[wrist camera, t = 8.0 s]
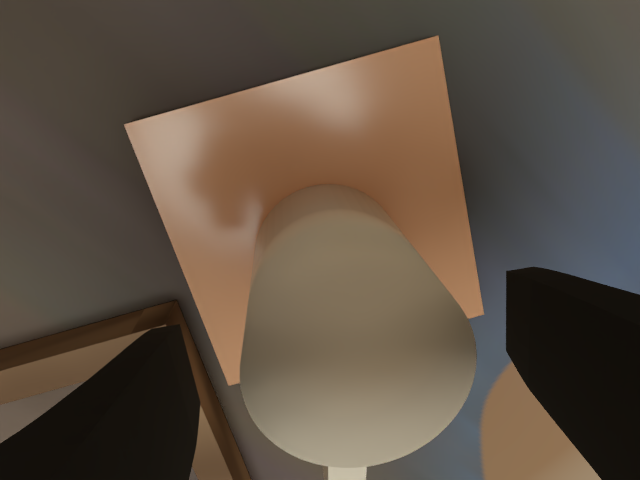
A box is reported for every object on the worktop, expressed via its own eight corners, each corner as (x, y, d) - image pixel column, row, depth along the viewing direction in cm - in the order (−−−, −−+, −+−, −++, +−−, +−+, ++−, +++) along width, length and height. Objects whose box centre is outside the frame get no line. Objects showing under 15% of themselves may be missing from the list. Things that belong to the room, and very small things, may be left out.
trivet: (129, 122, 15) (123, 124, 15) (432, 37, 15) (438, 35, 14) (230, 376, 18) (228, 385, 18) (477, 307, 18) (483, 314, 18)
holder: (-67, 368, 17) (-104, 399, 16) (176, 299, 17) (165, 324, 16) (69, 576, 21) (52, 619, 19) (268, 520, 21) (267, 559, 19)
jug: (389, 375, 18) (452, 543, 12) (260, 381, 18) (249, 558, 11) (402, 183, 16) (490, 260, 9) (252, 184, 15) (233, 266, 9)
